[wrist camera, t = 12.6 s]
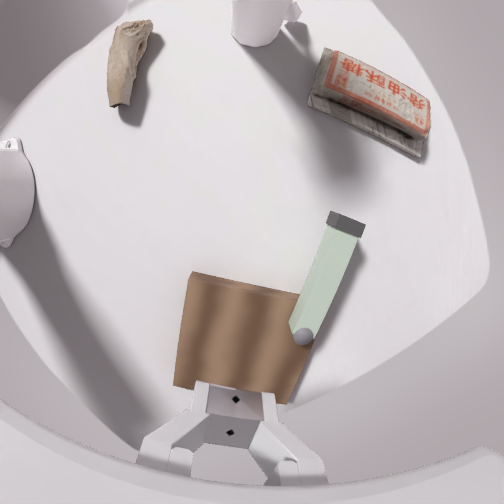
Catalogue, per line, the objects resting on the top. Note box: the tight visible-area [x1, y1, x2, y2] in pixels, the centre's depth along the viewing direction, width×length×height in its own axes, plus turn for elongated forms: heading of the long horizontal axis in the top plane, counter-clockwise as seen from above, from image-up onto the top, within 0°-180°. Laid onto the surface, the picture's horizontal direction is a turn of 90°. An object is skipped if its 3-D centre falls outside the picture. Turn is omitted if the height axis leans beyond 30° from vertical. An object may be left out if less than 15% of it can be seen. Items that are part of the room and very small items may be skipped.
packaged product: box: [307, 48, 431, 157], centre depth 30 cm, size 18×5×10 cm
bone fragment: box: [107, 20, 153, 108], centre depth 27 cm, size 14×6×5 cm, turn 174°
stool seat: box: [173, 271, 316, 404], centre depth 38 cm, size 18×18×3 cm
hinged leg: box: [289, 211, 366, 345], centre depth 33 cm, size 16×3×3 cm, turn 161°
